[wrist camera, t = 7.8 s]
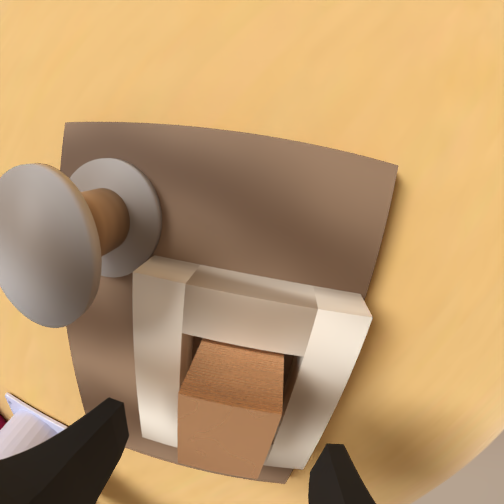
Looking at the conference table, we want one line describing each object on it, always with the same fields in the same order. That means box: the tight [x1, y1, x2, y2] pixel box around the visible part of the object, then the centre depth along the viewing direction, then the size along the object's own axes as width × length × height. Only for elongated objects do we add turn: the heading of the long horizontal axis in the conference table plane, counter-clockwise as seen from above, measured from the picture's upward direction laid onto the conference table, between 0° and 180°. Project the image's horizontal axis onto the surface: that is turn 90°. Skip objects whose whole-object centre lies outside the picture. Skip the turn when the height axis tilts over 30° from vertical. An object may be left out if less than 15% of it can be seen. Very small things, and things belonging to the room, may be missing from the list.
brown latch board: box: [0, 122, 398, 484], centre depth 12 cm, size 20×14×6 cm
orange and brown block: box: [177, 338, 284, 479], centre depth 11 cm, size 4×3×5 cm
